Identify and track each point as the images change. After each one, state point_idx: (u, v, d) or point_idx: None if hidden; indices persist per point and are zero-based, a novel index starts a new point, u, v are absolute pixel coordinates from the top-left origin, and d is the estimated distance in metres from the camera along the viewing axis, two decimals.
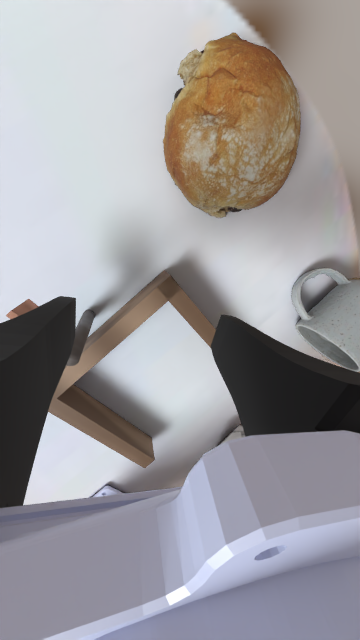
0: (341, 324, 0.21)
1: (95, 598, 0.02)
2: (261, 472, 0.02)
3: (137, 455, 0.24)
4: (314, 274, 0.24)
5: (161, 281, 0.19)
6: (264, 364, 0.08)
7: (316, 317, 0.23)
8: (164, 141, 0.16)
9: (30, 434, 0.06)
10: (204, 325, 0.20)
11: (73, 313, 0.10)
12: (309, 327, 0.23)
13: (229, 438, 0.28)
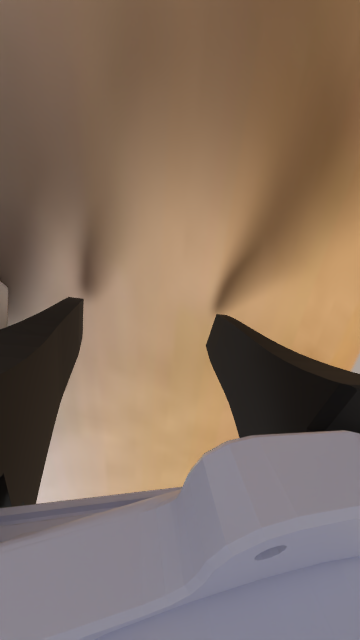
0: None
1: (95, 598, 0.02)
2: (261, 472, 0.02)
3: None
4: None
5: None
6: (258, 364, 0.08)
7: None
8: None
9: (43, 434, 0.06)
10: None
11: (81, 314, 0.10)
12: None
13: None
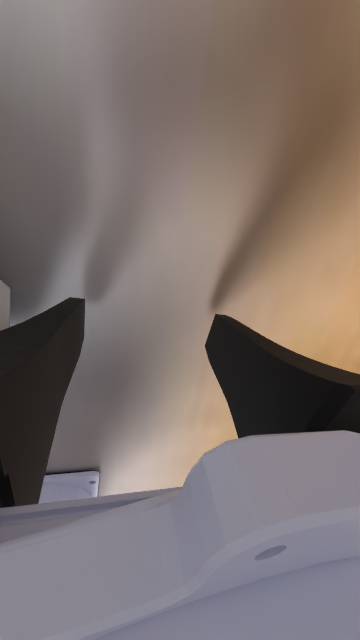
0: None
1: (95, 598, 0.02)
2: (261, 472, 0.02)
3: None
4: None
5: None
6: (256, 364, 0.08)
7: None
8: None
9: (46, 433, 0.06)
10: None
11: (83, 314, 0.10)
12: None
13: None
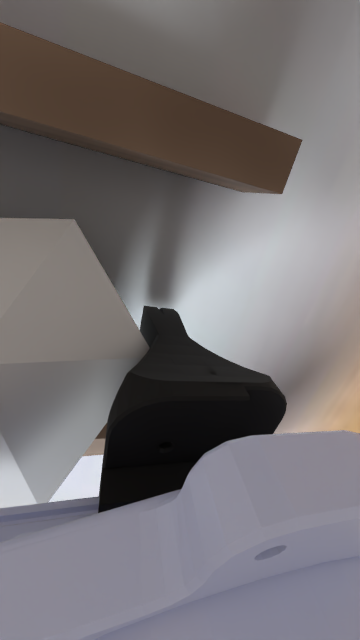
0: None
1: (95, 598, 0.02)
2: (261, 472, 0.02)
3: None
4: None
5: None
6: None
7: None
8: None
9: None
10: None
11: None
12: None
13: None
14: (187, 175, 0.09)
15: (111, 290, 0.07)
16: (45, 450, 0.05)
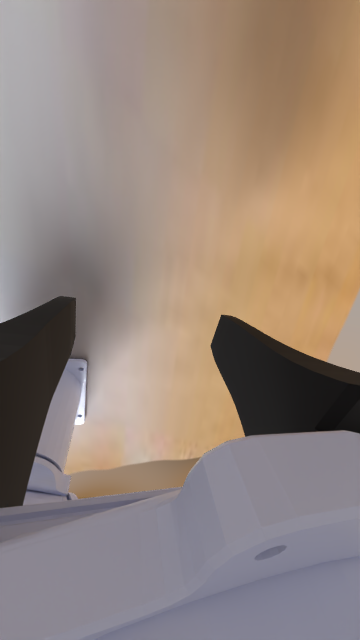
0: None
1: (95, 598, 0.02)
2: (261, 472, 0.02)
3: None
4: None
5: None
6: (264, 364, 0.08)
7: None
8: None
9: (30, 434, 0.06)
10: None
11: (73, 313, 0.10)
12: None
13: None
14: None
15: None
16: None
